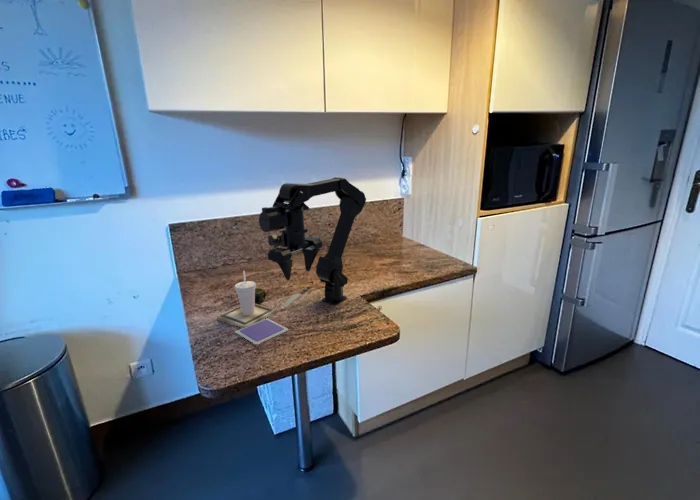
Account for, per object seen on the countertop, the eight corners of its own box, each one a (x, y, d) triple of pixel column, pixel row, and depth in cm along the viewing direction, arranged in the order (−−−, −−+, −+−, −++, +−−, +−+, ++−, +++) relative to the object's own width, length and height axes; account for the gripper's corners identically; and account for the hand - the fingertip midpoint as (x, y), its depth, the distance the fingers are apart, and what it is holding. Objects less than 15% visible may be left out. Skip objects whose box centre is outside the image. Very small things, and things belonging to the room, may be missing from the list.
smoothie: (259, 307, 120) (255, 267, 116) (258, 316, 114) (253, 273, 110) (239, 309, 119) (234, 269, 115) (236, 318, 113) (231, 275, 109)
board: (249, 304, 125) (248, 300, 125) (276, 312, 118) (276, 309, 118) (217, 319, 115) (216, 315, 115) (245, 329, 108) (244, 325, 108)
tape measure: (242, 304, 126) (241, 294, 125) (252, 296, 132) (251, 286, 131) (260, 306, 124) (258, 296, 123) (269, 298, 130) (268, 288, 129)
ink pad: (267, 319, 114) (266, 317, 113) (288, 331, 106) (288, 328, 106) (235, 333, 106) (234, 330, 106) (256, 346, 99) (255, 343, 98)
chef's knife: (276, 309, 122) (283, 310, 121) (275, 306, 122) (283, 306, 121) (303, 288, 139) (310, 288, 138) (303, 285, 139) (310, 285, 138)
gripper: (295, 218, 121) (298, 263, 125) (252, 229, 106) (257, 280, 110) (322, 221, 115) (324, 268, 119) (280, 233, 100) (284, 287, 104)
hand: (298, 275), depth 113 cm, fingers open, 9 cm apart
